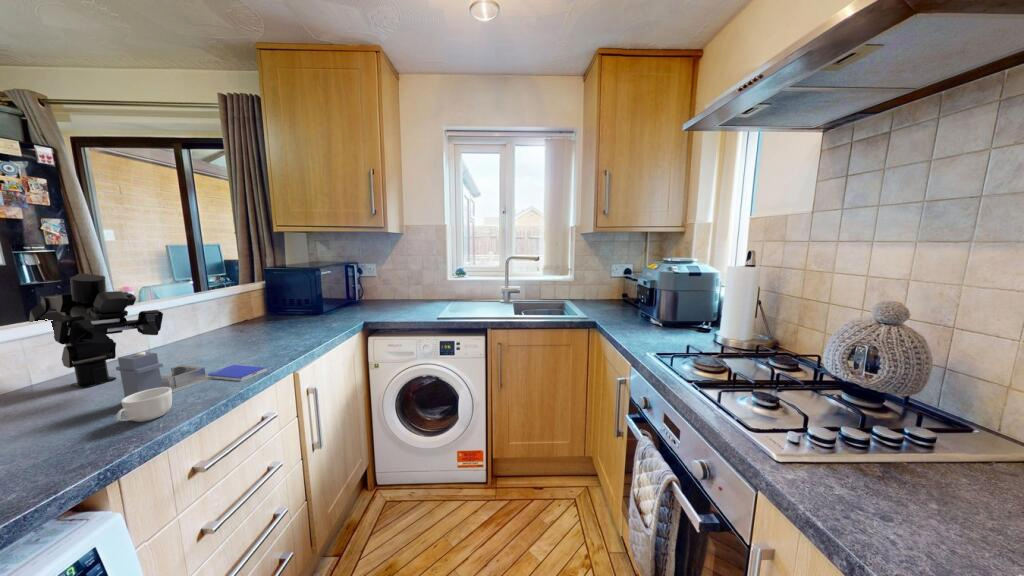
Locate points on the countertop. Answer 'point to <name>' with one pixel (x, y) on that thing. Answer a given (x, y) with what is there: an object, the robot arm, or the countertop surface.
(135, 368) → the block
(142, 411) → the teacup
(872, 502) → the countertop surface
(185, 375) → the chassis
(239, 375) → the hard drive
